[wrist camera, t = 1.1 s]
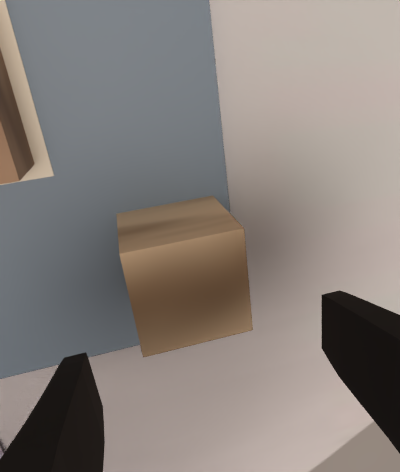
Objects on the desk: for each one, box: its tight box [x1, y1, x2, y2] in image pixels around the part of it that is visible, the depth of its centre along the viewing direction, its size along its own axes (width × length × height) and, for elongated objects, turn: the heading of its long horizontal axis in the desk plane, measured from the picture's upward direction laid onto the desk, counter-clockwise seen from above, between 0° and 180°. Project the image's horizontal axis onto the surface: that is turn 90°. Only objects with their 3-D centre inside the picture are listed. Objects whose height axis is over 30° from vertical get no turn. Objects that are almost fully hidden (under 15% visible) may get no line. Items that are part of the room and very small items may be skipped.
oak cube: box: [116, 196, 253, 357], centre depth 16 cm, size 4×4×4 cm
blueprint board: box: [0, 0, 230, 379], centre depth 16 cm, size 18×15×1 cm
